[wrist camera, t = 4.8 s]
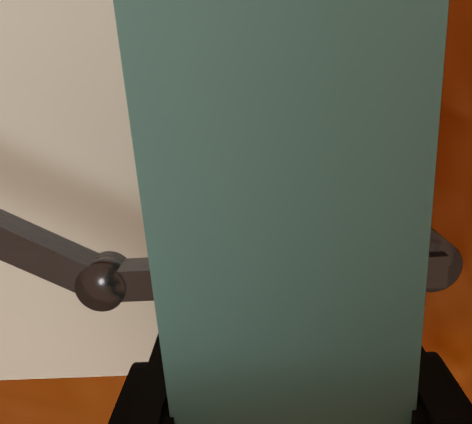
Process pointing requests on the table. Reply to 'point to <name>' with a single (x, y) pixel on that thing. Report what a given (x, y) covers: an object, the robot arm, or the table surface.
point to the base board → (67, 186)
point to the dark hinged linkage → (136, 265)
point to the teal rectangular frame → (286, 200)
